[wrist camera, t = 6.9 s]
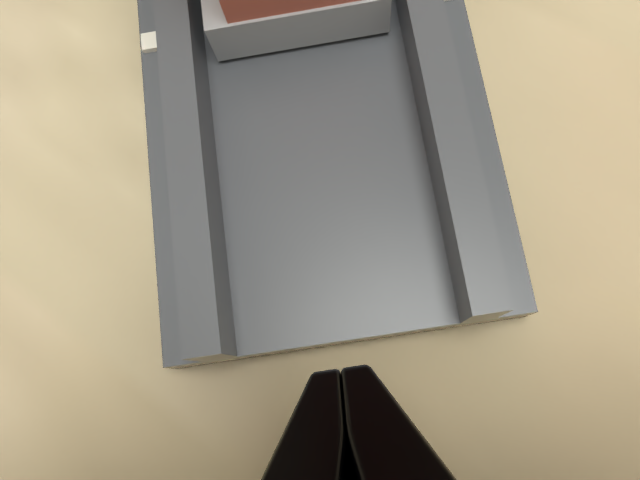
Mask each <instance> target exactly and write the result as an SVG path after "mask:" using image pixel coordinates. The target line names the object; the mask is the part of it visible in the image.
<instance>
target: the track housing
mask: <svg viewBox="0 0 640 480" xmlns="http://www.w3.org/2000/svg"><path fill="white" fill-rule="evenodd" d="M137 3H138V17H139V31H140V45H141V59H142V73H143V87H144V102H145V116H146V130H147V144H148V158H149V172H150V187H151V201H152V215H153V229H154V243H155V257H156V272H157V286H158V300H159V314H160V328H161V342H162V356H163V368H183V367H190V366H197V365H203V364H210V363H217V362H223V361H230V360H237V359H244V358H250V357H257V356H264V355H270V354H277V353H284V352H291V351H297V350H304V349H311V348H317V347H324V346H331V345H337V344H344V343H351V342H358V341H364V340H371V339H378V338H384V337H391V336H398V335H405V334H411V333H418V332H425V331H431V330H438V329H445V328H451V327H458V326H465V325H472V324H478V323H485V322H492V321H498V320H505V319H512V318H518V317H525V316H528V315H531V314H533V313H536V312H538V310H537V306H536V301H535V297H534V293H533V289H532V285H531V280H530V276H529V272H528V268H527V264H526V259H525V255H524V251H523V247H522V243H521V238H520V234H519V230H518V226H517V221H516V217H515V213H514V209H513V205H512V200H511V196H510V192H509V188H508V184H507V179H506V175H505V171H504V167H503V163H502V158H501V154H500V150H499V146H498V142H497V137H496V133H495V129H494V125H493V121H492V116H491V112H490V108H489V104H488V100H487V95H486V91H485V87H484V83H483V79H482V74H481V70H480V66H479V62H478V58H477V53H476V49H475V45H474V41H473V37H472V32H471V28H470V24H469V20H468V16H467V11H466V7H465V3H464V0H392V2H391V16H390V31H389V32H387V33H381V34H375V35H369V36H363V37H358V38H352V39H346V40H340V41H334V42H328V43H323V44H317V45H311V46H305V47H299V48H294V49H288V50H282V51H276V52H270V53H264V54H259V55H253V56H247V57H241V58H235V59H229V60H224V61H218V60H217V58H216V56H215V53H214V51H213V49H212V47H211V45H210V43H209V41H208V38H207V36H206V34H205V32H204V26H203V16H202V6H201V0H137Z"/></svg>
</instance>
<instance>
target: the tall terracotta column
mask: <svg viewBox="0 0 640 480" xmlns="http://www.w3.org/2000/svg"><path fill="white" fill-rule="evenodd" d="M391 2H392V0H201V6H202V16H203V26H204V32H205V34H206V36H207V38H208V41H209V43H210V45H211V47H212V49H213V51H214V53H215V56H216V58H217V60H218V61H224V60H229V59H235V58H241V57H247V56H253V55H259V54H264V53H270V52H276V51H282V50H288V49H294V48H299V47H305V46H311V45H317V44H323V43H328V42H334V41H340V40H346V39H352V38H358V37H363V36H369V35H375V34H381V33H387V32H389V31H390V16H391Z"/></svg>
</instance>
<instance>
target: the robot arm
mask: <svg viewBox="0 0 640 480" xmlns="http://www.w3.org/2000/svg"><path fill="white" fill-rule="evenodd" d="M261 480H456V478H455V477H454V476H453V474H452V473H451V472H450V471H449V469H448V468H447V467H446V465H445V464H444V463H443V461H442V460H441V459H440V457H439V456H438V455H437V454H436V452H435V451H434V450H433V448H432V447H431V446H430V444H429V443H428V442H427V440H426V439H425V438H424V436H423V435H422V434H421V433H420V431H419V430H418V429H417V427H416V426H415V425H414V423H413V422H412V421H411V419H410V418H409V417H408V416H407V414H406V413H405V412H404V410H403V409H402V408H401V406H400V405H399V404H398V402H397V401H396V400H395V399H394V397H393V396H392V395H391V393H390V392H389V391H388V389H387V388H386V387H385V385H384V384H383V383H382V382H381V380H380V379H379V378H378V376H377V375H376V374H375V372H374V371H373V370H372V369H371V367H369V366H368V365H360V366H353V367H346V368H343V369H342V371H341V373H340V371H339V370H337V369H333V370H326V371H319V372H314V373H313V374H312V375H311V376H310V378H309V380H308V382H307V384H306V386H305V389H304V391H303V393H302V395H301V397H300V399H299V401H298V403H297V405H296V407H295V409H294V412H293V414H292V416H291V418H290V420H289V422H288V424H287V426H286V428H285V430H284V432H283V435H282V437H281V439H280V441H279V443H278V445H277V447H276V449H275V451H274V453H273V456H272V458H271V460H270V462H269V464H268V466H267V468H266V470H265V472H264V474H263V476H262V479H261Z"/></svg>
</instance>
